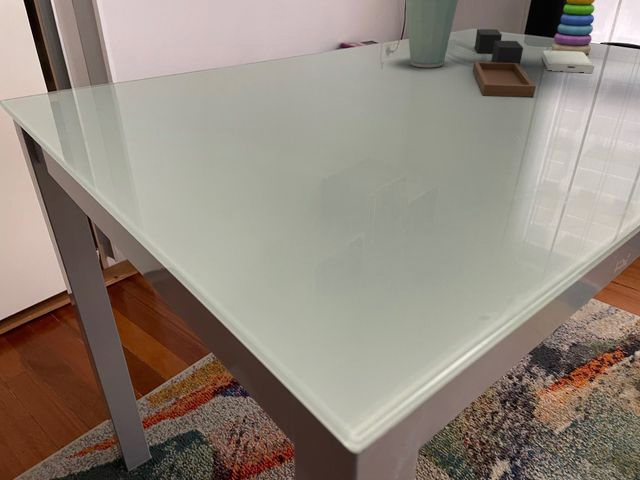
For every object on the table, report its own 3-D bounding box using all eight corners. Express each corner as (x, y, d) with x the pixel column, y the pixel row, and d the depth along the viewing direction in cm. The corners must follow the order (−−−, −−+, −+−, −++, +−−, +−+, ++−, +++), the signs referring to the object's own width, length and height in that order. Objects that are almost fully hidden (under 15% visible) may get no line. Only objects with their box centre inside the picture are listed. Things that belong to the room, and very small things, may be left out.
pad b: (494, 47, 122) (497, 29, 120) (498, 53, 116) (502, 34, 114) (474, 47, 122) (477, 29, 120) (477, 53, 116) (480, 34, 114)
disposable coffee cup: (441, 73, 101) (450, -14, 93) (390, 66, 106) (395, -16, 98) (459, 62, 109) (469, -19, 101) (411, 56, 113) (417, -21, 106)
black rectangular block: (513, 61, 109) (517, 40, 107) (519, 68, 104) (523, 47, 101) (491, 60, 110) (494, 40, 108) (495, 68, 104) (499, 47, 102)
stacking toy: (594, 52, 117) (618, -44, 107) (581, 57, 112) (605, -42, 102) (559, 47, 121) (579, -45, 112) (544, 52, 116) (564, -43, 107)
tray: (515, 72, 101) (517, 63, 100) (533, 97, 86) (535, 86, 85) (472, 71, 102) (474, 61, 101) (482, 95, 87) (484, 84, 86)
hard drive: (542, 50, 111) (549, 62, 101) (584, 51, 110) (595, 64, 99) (541, 58, 112) (547, 71, 102) (582, 59, 110) (592, 73, 100)
